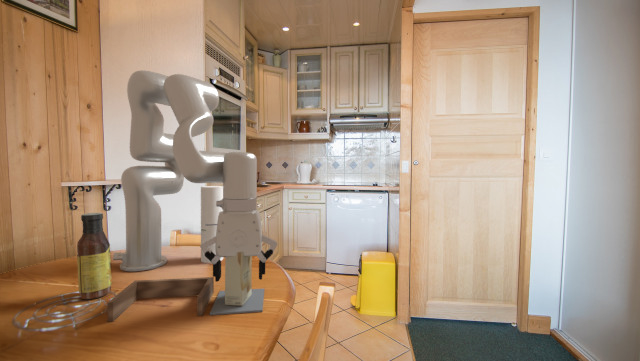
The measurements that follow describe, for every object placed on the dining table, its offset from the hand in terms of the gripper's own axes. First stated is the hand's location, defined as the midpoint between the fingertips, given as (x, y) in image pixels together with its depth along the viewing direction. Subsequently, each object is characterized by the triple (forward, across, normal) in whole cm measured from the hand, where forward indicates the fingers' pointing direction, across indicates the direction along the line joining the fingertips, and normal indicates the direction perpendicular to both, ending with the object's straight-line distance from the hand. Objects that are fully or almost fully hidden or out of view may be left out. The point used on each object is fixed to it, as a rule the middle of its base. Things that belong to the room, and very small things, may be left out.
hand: (239, 278), depth 65 cm
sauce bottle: (+6, -35, +8) cm, 36 cm away
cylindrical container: (+6, -13, +32) cm, 35 cm away
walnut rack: (+6, -16, 0) cm, 17 cm away
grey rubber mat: (+6, 0, 0) cm, 6 cm away
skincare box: (+5, 0, 0) cm, 5 cm away
